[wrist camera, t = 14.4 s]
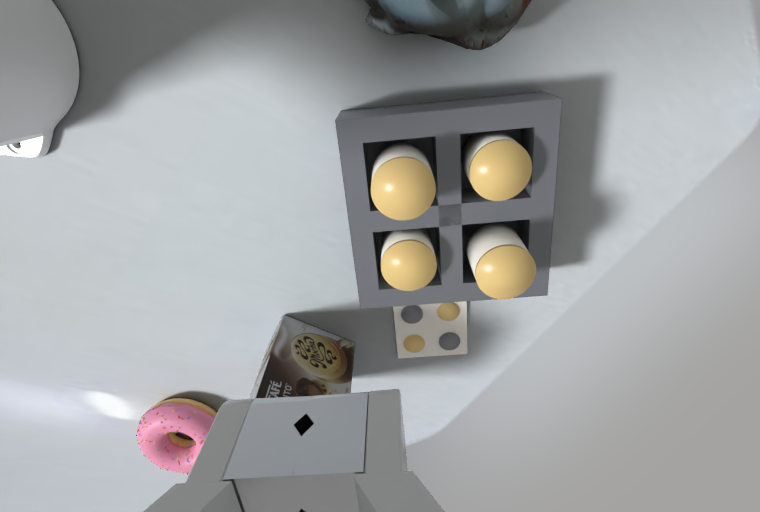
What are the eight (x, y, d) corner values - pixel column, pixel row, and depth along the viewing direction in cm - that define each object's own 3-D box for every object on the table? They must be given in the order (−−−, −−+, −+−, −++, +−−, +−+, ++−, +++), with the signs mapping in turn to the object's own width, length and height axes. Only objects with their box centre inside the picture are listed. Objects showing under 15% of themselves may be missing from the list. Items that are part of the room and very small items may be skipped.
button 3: (461, 185, 43) (470, 203, 38) (460, 131, 41) (469, 143, 36) (515, 180, 43) (530, 198, 38) (517, 126, 40) (533, 137, 36)
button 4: (466, 273, 44) (475, 301, 40) (466, 225, 42) (475, 248, 37) (519, 269, 44) (534, 297, 39) (521, 221, 42) (537, 243, 37)
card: (397, 356, 54) (398, 359, 53) (392, 297, 50) (392, 300, 50) (467, 351, 53) (467, 354, 53) (466, 292, 50) (466, 294, 49)
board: (362, 283, 49) (360, 309, 45) (340, 111, 42) (335, 120, 37) (532, 270, 48) (547, 295, 44) (542, 91, 41) (562, 98, 36)
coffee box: (264, 353, 54) (218, 473, 39) (283, 312, 51) (243, 423, 37) (335, 381, 55) (317, 505, 41) (358, 342, 53) (347, 460, 38)
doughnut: (236, 400, 57) (225, 426, 53) (227, 460, 62) (217, 488, 58) (147, 383, 56) (130, 408, 52) (144, 445, 61) (129, 472, 57)
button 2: (383, 267, 47) (383, 292, 42) (379, 222, 45) (378, 243, 40) (432, 264, 46) (437, 288, 42) (430, 218, 44) (435, 239, 40)
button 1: (375, 202, 41) (374, 223, 36) (369, 146, 39) (367, 161, 34) (431, 197, 41) (437, 217, 36) (428, 140, 39) (434, 155, 34)
